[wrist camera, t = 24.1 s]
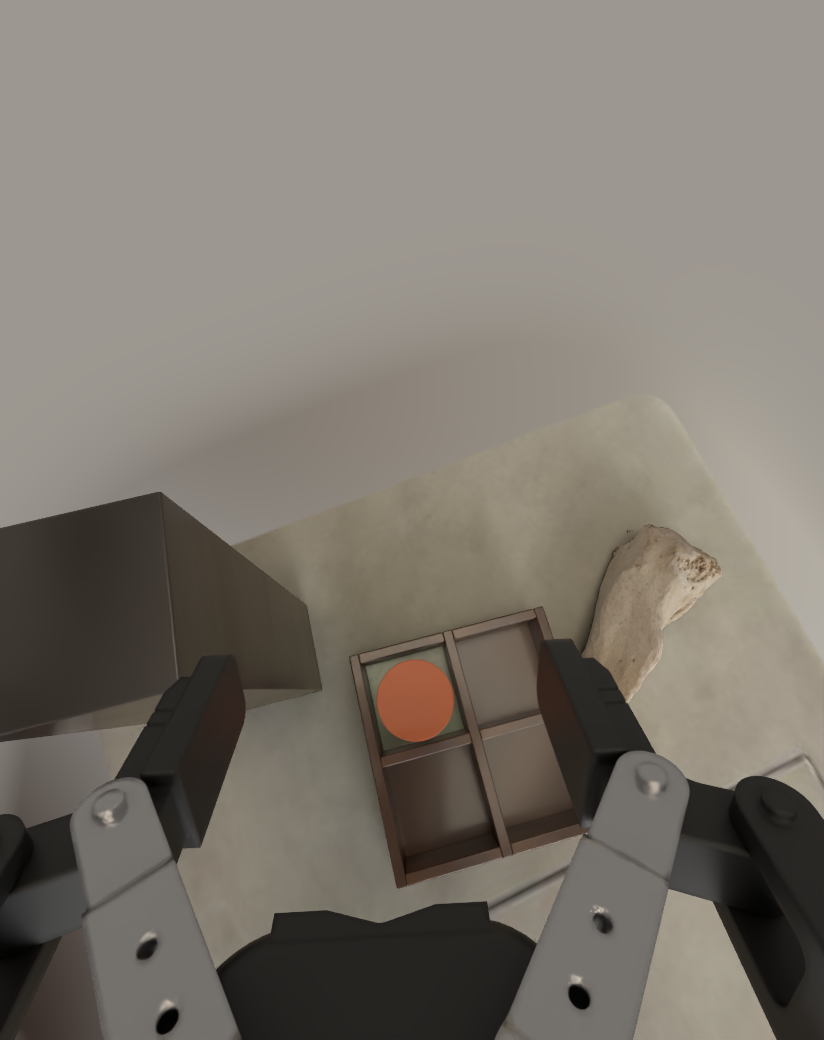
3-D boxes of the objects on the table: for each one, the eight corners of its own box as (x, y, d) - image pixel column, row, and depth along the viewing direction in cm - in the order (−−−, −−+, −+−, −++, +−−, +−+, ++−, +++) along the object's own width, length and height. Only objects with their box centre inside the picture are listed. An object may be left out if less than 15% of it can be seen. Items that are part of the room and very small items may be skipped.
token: (393, 737, 33) (386, 751, 25) (379, 674, 34) (368, 670, 27) (452, 720, 33) (463, 729, 26) (436, 659, 34) (442, 650, 27)
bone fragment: (626, 523, 38) (654, 502, 34) (703, 573, 37) (743, 558, 33) (529, 674, 35) (546, 672, 30) (610, 733, 34) (640, 741, 29)
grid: (399, 868, 31) (397, 889, 28) (355, 659, 35) (348, 656, 32) (595, 810, 32) (616, 825, 29) (530, 613, 36) (542, 606, 33)
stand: (235, 713, 34) (-48, 748, 13) (223, 625, 36) (-41, 536, 15) (322, 690, 35) (180, 689, 14) (306, 604, 36) (160, 490, 16)
